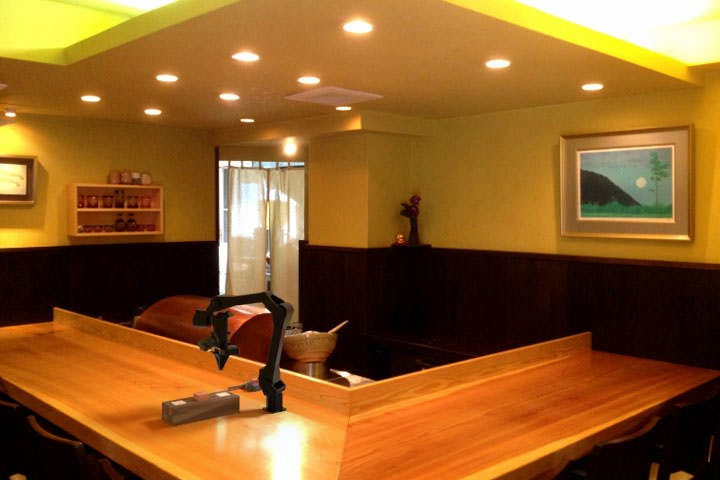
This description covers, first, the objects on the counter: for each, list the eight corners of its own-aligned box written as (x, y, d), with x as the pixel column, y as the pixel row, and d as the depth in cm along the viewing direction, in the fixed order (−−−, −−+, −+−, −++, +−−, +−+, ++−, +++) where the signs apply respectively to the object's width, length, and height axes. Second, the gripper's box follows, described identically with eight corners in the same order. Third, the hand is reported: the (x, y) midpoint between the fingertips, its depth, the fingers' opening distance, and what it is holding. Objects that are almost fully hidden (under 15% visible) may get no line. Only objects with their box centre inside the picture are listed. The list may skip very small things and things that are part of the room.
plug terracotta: (209, 409, 246) (209, 393, 246) (198, 411, 243) (198, 395, 243) (203, 407, 249) (203, 391, 249) (193, 409, 246) (193, 393, 246)
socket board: (239, 412, 250) (239, 396, 250) (174, 426, 235) (173, 408, 234) (226, 406, 258) (226, 390, 258) (161, 419, 242) (161, 402, 242)
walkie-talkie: (269, 383, 292) (226, 391, 280) (269, 373, 292) (226, 380, 280) (280, 388, 285) (236, 396, 273) (280, 377, 285) (236, 385, 273)
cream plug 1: (186, 419, 241) (186, 402, 240) (175, 421, 238) (175, 404, 238) (181, 416, 244) (181, 400, 243) (170, 418, 241) (170, 402, 241)
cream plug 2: (230, 410, 251) (230, 394, 251) (220, 412, 249) (220, 396, 249) (225, 407, 254) (225, 392, 254) (215, 409, 252) (215, 394, 252)
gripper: (189, 327, 261) (189, 368, 262) (212, 334, 246) (212, 378, 247) (216, 324, 268) (216, 364, 269) (240, 331, 253) (240, 373, 254)
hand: (220, 370), depth 259 cm, fingers closed
